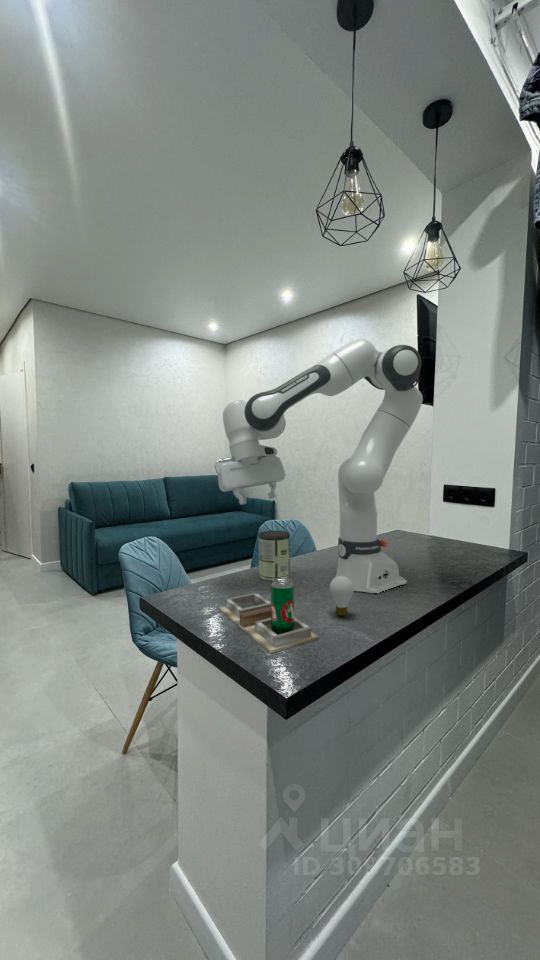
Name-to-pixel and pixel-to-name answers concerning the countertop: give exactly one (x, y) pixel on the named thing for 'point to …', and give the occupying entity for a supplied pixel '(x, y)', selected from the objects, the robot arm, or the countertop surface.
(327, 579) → the countertop surface
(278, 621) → the soda can
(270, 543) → the coffee can
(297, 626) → the socket board
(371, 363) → the robot arm
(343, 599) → the light bulb
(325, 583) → the countertop surface
